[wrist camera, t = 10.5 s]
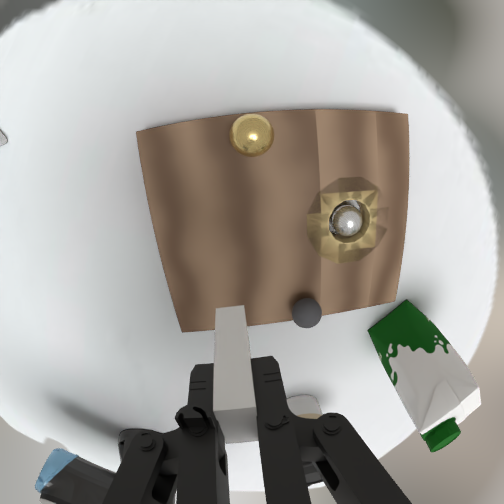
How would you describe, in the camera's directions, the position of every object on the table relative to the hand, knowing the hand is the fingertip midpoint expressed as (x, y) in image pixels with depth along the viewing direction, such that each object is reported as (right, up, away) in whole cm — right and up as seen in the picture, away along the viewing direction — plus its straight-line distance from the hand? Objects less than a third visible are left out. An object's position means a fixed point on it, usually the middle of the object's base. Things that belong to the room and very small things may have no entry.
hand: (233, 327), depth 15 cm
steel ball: (+11, +7, +13) cm, 18 cm away
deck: (+5, +7, +14) cm, 16 cm away
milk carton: (+22, -7, +22) cm, 32 cm away
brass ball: (+1, +13, +6) cm, 15 cm away
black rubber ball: (+7, -2, +14) cm, 16 cm away
